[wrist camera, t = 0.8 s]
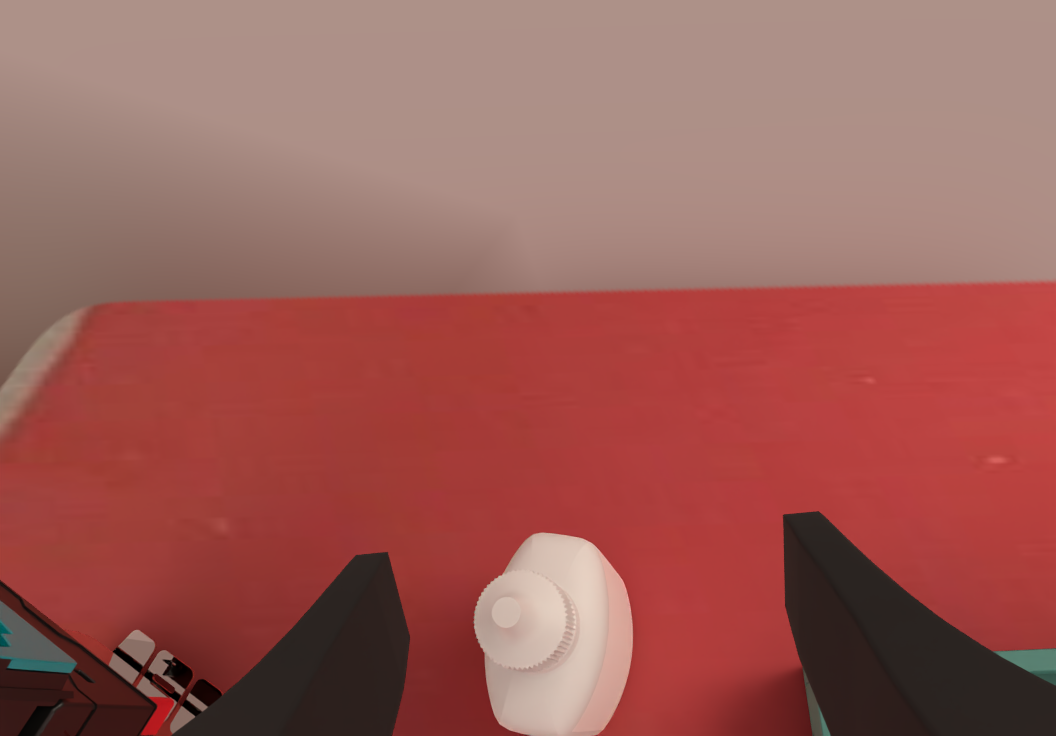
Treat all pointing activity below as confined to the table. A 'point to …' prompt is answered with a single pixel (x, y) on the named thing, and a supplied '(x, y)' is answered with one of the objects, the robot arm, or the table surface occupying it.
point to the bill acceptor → (87, 681)
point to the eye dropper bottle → (555, 638)
